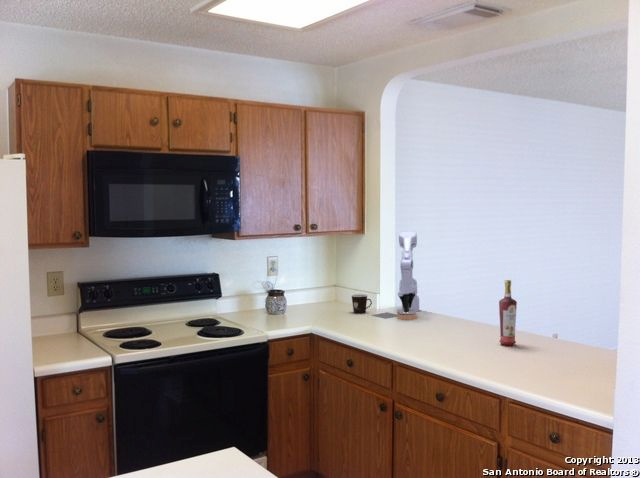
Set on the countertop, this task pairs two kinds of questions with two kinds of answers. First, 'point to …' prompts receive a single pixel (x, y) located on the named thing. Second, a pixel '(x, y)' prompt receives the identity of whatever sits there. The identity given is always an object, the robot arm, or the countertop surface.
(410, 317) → the bowl
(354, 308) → the coffee mug
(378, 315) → the mat
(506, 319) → the liquor
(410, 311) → the lid
